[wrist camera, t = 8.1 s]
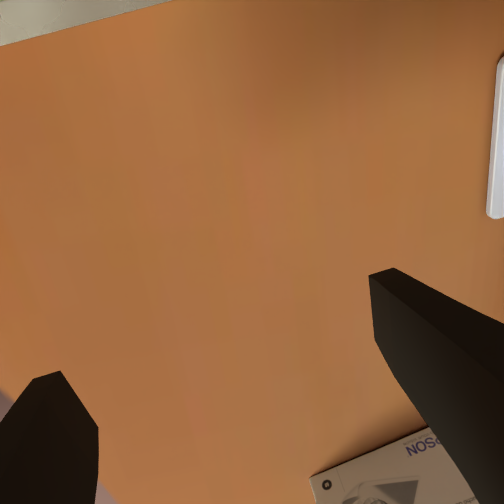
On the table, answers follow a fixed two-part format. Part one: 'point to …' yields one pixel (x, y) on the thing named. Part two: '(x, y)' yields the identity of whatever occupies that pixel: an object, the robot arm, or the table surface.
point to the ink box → (396, 476)
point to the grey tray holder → (57, 15)
